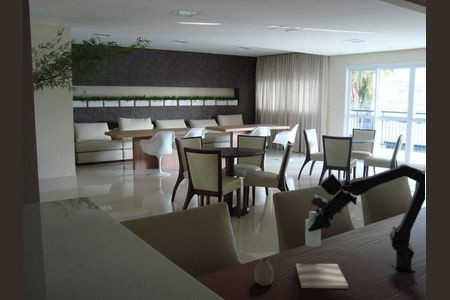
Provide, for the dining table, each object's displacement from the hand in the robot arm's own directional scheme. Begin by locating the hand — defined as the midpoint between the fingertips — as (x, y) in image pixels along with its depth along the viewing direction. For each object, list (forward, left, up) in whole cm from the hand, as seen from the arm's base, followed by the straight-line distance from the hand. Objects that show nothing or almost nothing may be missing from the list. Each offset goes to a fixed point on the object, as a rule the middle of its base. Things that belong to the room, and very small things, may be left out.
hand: (309, 228), depth 163 cm
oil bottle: (0, -1, -7) cm, 7 cm away
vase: (-22, +19, -14) cm, 32 cm away
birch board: (-16, -2, -13) cm, 21 cm away
